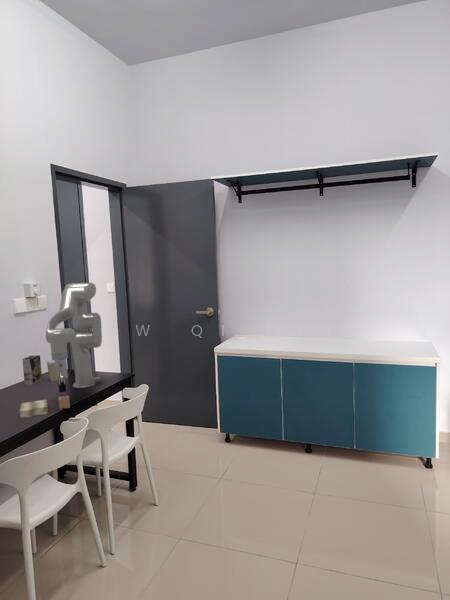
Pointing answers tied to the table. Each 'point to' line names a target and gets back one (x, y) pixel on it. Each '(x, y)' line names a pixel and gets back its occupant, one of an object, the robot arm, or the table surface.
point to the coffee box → (32, 370)
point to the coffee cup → (52, 370)
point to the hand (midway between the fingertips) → (62, 389)
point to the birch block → (33, 408)
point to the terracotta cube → (64, 402)
